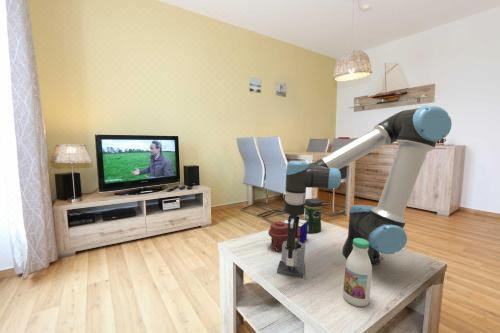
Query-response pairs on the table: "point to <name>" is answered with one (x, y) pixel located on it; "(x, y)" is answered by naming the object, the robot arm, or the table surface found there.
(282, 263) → the bulb on base
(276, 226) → the mechanical component
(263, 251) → the table surface
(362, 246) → the milk bottle
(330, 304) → the table surface
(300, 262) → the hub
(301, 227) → the puzzle cube
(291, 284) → the table surface
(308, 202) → the coffee jar
